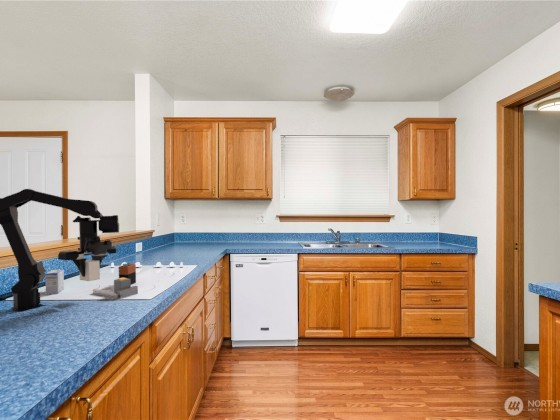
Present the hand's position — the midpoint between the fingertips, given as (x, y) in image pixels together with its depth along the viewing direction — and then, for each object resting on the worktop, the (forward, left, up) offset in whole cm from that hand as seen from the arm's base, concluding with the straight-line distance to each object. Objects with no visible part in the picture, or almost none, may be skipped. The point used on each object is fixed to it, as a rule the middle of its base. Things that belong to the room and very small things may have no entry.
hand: (89, 275), depth 117 cm
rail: (+9, -2, -10) cm, 13 cm away
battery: (+21, +7, -10) cm, 24 cm away
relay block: (+9, -6, -9) cm, 14 cm away
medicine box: (+1, +26, -10) cm, 28 cm away
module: (0, 0, -2) cm, 2 cm away
